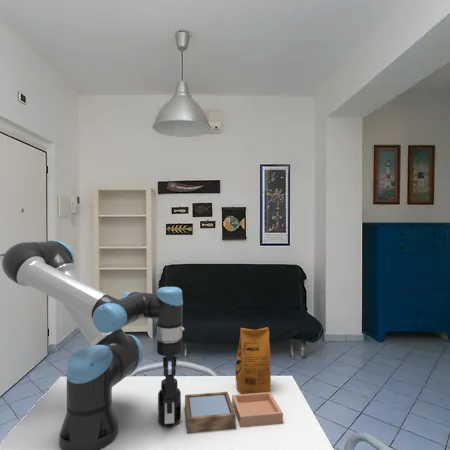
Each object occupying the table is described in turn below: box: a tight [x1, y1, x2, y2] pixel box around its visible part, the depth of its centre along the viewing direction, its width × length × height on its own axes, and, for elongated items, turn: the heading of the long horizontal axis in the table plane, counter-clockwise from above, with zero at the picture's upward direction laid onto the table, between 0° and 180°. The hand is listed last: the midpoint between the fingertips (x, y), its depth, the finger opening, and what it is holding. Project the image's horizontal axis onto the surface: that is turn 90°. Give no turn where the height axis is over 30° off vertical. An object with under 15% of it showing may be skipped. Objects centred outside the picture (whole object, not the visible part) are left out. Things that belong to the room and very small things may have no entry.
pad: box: [189, 395, 230, 417], centre depth 103 cm, size 11×11×1 cm
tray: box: [231, 391, 284, 428], centre depth 106 cm, size 13×13×3 cm
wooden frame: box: [184, 391, 237, 434], centre depth 103 cm, size 14×14×4 cm
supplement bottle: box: [157, 377, 182, 428], centre depth 101 cm, size 7×7×12 cm
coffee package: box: [235, 327, 272, 394], centre depth 122 cm, size 10×12×22 cm
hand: (169, 415), depth 101 cm, fingers closed on supplement bottle, 7 cm apart
